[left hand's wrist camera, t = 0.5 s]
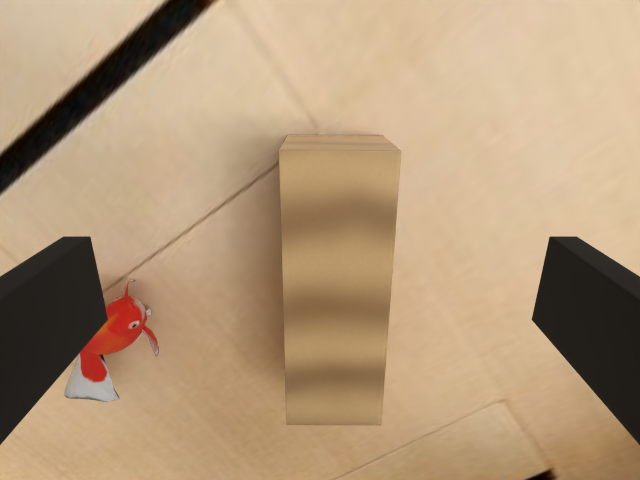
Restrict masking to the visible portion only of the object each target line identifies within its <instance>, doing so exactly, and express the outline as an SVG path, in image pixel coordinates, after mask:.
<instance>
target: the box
mask: <svg viewBox="0 0 640 480" xmlns="http://www.w3.org/2000/svg"><path fill="white" fill-rule="evenodd" d="M400 161H401V150H400V149H398V148H397V147H396V146H395V145H394V144H392V143H391V142H390V141H389V140H388V139H387V138H385V137H384V136H383V135H288V136H287V138H286V139H285V141H284V143H283V144H282V146H281V148H280V149H279V176H280V211H281V246H282V281H283V317H284V352H285V387H286V422H287V425H381V420H382V407H383V393H384V379H385V366H386V352H387V339H388V325H389V311H390V298H391V284H392V270H393V257H394V243H395V229H396V216H397V202H398V189H399V175H400Z"/></svg>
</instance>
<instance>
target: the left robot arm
mask: <svg viewBox="0 0 640 480" xmlns="http://www.w3.org/2000/svg"><path fill="white" fill-rule="evenodd" d="M107 320H108V317H107V312H106V307H105V303H104V298H103V293H102V289H101V284H100V280H99V275H98V270H97V266H96V261H95V256H94V252H93V247H92V242H91V238H90V237H62V238H61V239H59V240H57V241H56V242H54V243H53V244H51V245H50V246H48V247H46V248H45V249H43V250H42V251H40V252H38V253H37V254H35V255H34V256H32V257H31V258H29V259H27V260H26V261H24V262H23V263H21V264H20V265H18V266H16V267H15V268H13V269H12V270H10V271H8V272H7V273H5V274H4V275H2V276H1V277H0V445H1V443H2V442H3V441H4V440H5V439H6V438H7V436H8V435H9V434H10V433H11V432H12V431H13V429H14V428H15V427H16V426H17V425H18V424H19V422H20V421H21V420H22V419H23V418H24V417H25V416H26V414H27V413H28V412H29V411H30V410H31V409H32V407H33V406H34V405H35V404H36V403H37V402H38V400H39V399H40V398H41V397H42V396H43V395H44V393H45V392H46V391H47V390H48V389H49V388H50V387H51V385H52V384H53V383H54V382H55V381H56V380H57V378H58V377H59V376H60V375H61V374H62V373H63V371H64V370H65V369H66V368H67V367H68V366H69V365H70V363H71V362H72V361H73V360H74V359H75V358H76V356H77V355H78V354H79V353H80V352H81V351H82V349H83V348H84V347H85V346H86V345H87V344H88V342H89V341H90V340H91V339H92V338H93V337H94V336H95V334H96V333H97V332H98V331H99V330H100V329H101V327H102V326H103V325H104V324H105V323H106V322H107ZM532 320H533V322H534V323H535V324H536V325H537V326H538V327H539V329H540V330H541V331H542V332H543V333H544V334H545V336H546V337H547V338H548V339H549V340H550V341H551V342H552V344H553V345H554V346H555V347H556V348H557V349H558V351H559V352H560V353H561V354H562V355H563V356H564V358H565V359H566V360H567V361H568V362H569V363H570V365H571V366H572V367H573V368H574V369H575V370H576V371H577V373H578V374H579V375H580V376H581V377H582V378H583V380H584V381H585V382H586V383H587V384H588V385H589V387H590V388H591V389H592V390H593V391H594V392H595V393H596V395H597V396H598V397H599V398H600V399H601V400H602V402H603V403H604V404H605V405H606V406H607V407H608V409H609V410H610V411H611V412H612V413H613V414H614V416H615V417H616V418H617V419H618V420H619V421H620V422H621V424H622V425H623V426H624V427H625V428H626V429H627V431H628V432H629V433H630V434H631V435H632V436H633V438H634V439H635V440H636V441H637V442H638V443H639V445H640V277H639V276H638V275H636V274H635V273H633V272H632V271H630V270H628V269H627V268H625V267H624V266H622V265H620V264H619V263H617V262H616V261H614V260H613V259H611V258H609V257H608V256H606V255H605V254H603V253H602V252H600V251H598V250H597V249H595V248H594V247H592V246H590V245H589V244H587V243H586V242H584V241H583V240H581V239H579V238H578V237H550V238H549V242H548V247H547V252H546V256H545V261H544V266H543V270H542V275H541V280H540V284H539V289H538V293H537V298H536V303H535V307H534V312H533V317H532Z"/></svg>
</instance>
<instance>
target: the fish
mask: <svg viewBox="0 0 640 480" xmlns="http://www.w3.org/2000/svg"><path fill="white" fill-rule="evenodd" d="M134 281H135V280H133V279H131V280H130V281H129V282H134ZM129 282H128V283H129ZM128 283H127V285H126V286H125V289H124V291H123V297H118V298H116V299H115V300H114V301H113V302H112V304H110V305H108V306H107V307H106V312H107V317H108V320H107V322H106V323H105V324H104V325H103V326H102V327H101V329H100V330H99V331H98V332H97V333H96V334H95V336H94V337H93V338H92V339H91V340H90V341H89V342H88V344H87V345H86V346H85V347H84V348H83V349H82V351H81V352H80V353H79V354H78V355H79V357H78V361H77V364H76V366H75V368H74V370H73V372H72V374H71V376H70V379H69V381H68V383H67V386H66V389H65V393H64V395H65V396H66V397H67V398H73V399H91V400H98V401H103V402H109V401H113V400H117V399H120V398H119V396H118V394H117V393H116V391H115V389H114V387H113V384H112V381H111V378H110V375H109V372H108V369H107V366H106V363H105V360H104V358H103V355H102V354H111V353H114V352H118V351H120V350H122V349H124V348H126V347H127V346H129V345H130V344H132V343H133V342H134V341H135V340H136V338H137V337H138V336H139V335H140V333H141V332H144V333H145V334H146V335H147V336H148V337H149V339H150V343H151V346H152V348H153V350H154V352H155V356H158V353H159V349H158V345H157V339H156V337H155V336H154V334H153V332H152V331H151V330H150V329H149V328H148V327H146V326H145V325H144V324H145V322H146V318H147V316H150V315H151V314H152V313H151V310H150V309H148V310H145V307H144V305H143V304H142V303H141V302H140V301H139V300H138V299H137V298H135V297H133V296H128ZM78 355H77V356H78ZM77 356H76V357H77Z"/></svg>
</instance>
